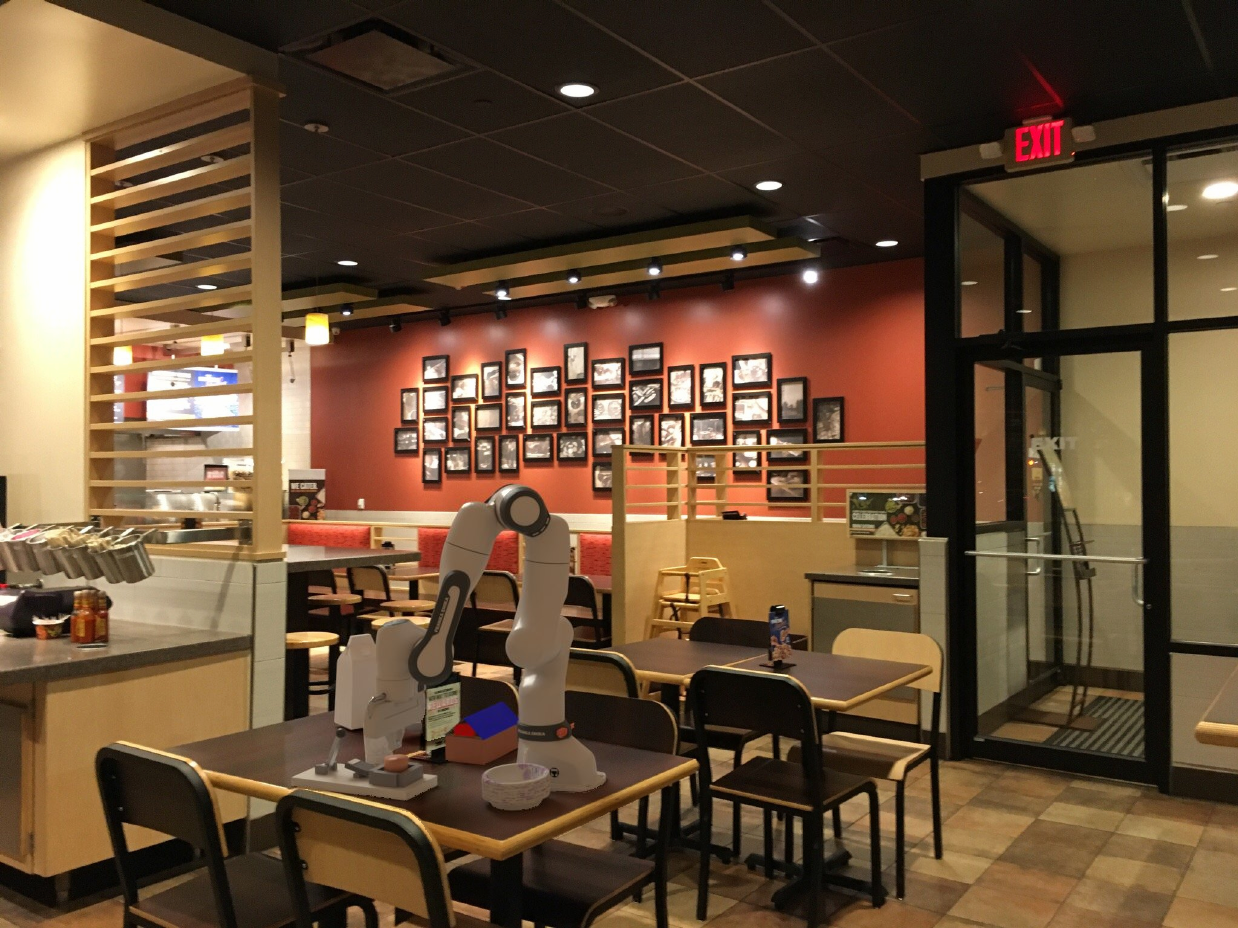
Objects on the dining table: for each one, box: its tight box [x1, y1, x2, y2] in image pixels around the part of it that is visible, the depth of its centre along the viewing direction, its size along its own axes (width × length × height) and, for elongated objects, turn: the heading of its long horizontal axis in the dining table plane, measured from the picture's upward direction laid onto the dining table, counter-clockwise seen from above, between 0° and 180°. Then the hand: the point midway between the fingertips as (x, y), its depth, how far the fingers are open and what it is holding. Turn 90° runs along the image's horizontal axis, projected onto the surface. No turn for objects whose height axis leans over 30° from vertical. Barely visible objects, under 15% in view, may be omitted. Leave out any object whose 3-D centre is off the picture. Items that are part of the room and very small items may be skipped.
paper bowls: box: [481, 762, 551, 811], centre depth 227 cm, size 15×15×8 cm
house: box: [444, 701, 519, 766], centre depth 271 cm, size 12×20×12 cm, turn 157°
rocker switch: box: [344, 758, 378, 776], centre depth 242 cm, size 6×4×1 cm, turn 68°
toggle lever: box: [325, 727, 347, 771], centre depth 245 cm, size 2×2×11 cm
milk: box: [333, 633, 377, 731], centre depth 304 cm, size 12×12×26 cm
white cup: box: [363, 723, 394, 766], centre depth 264 cm, size 8×8×10 cm
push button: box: [384, 753, 409, 773], centre depth 238 cm, size 6×6×3 cm
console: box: [290, 760, 438, 801], centre depth 241 cm, size 32×13×6 cm, turn 68°
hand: (395, 748), depth 238 cm, fingers closed
